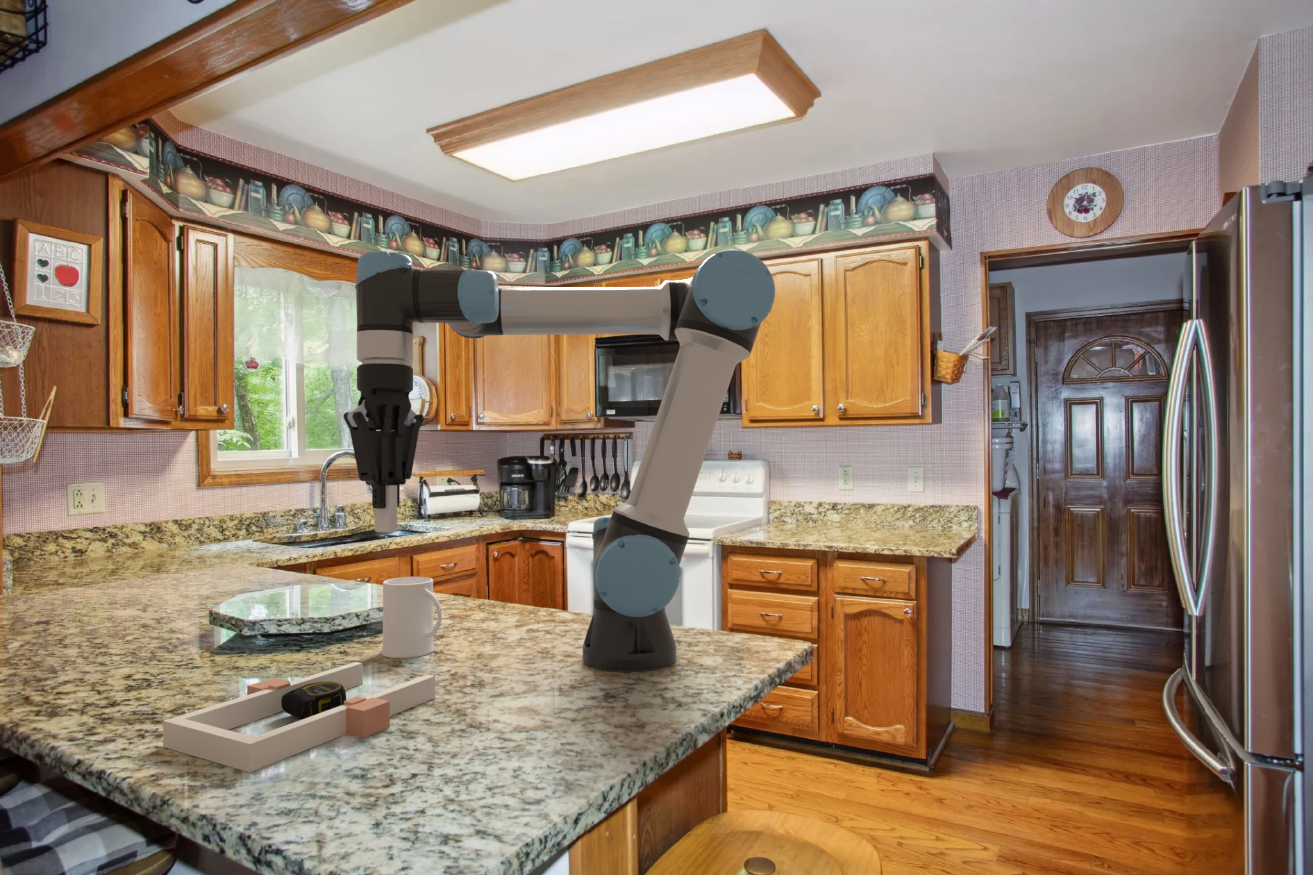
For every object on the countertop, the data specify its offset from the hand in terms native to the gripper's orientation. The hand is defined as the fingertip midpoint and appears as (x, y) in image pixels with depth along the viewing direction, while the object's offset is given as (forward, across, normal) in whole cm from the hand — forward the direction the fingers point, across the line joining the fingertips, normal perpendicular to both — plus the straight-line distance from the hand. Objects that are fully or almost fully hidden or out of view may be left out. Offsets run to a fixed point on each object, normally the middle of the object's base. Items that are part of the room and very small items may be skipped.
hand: (386, 531), depth 110 cm
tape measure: (+23, +12, -1) cm, 26 cm away
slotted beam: (+23, +12, 0) cm, 25 cm away
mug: (+23, -17, -12) cm, 31 cm away
